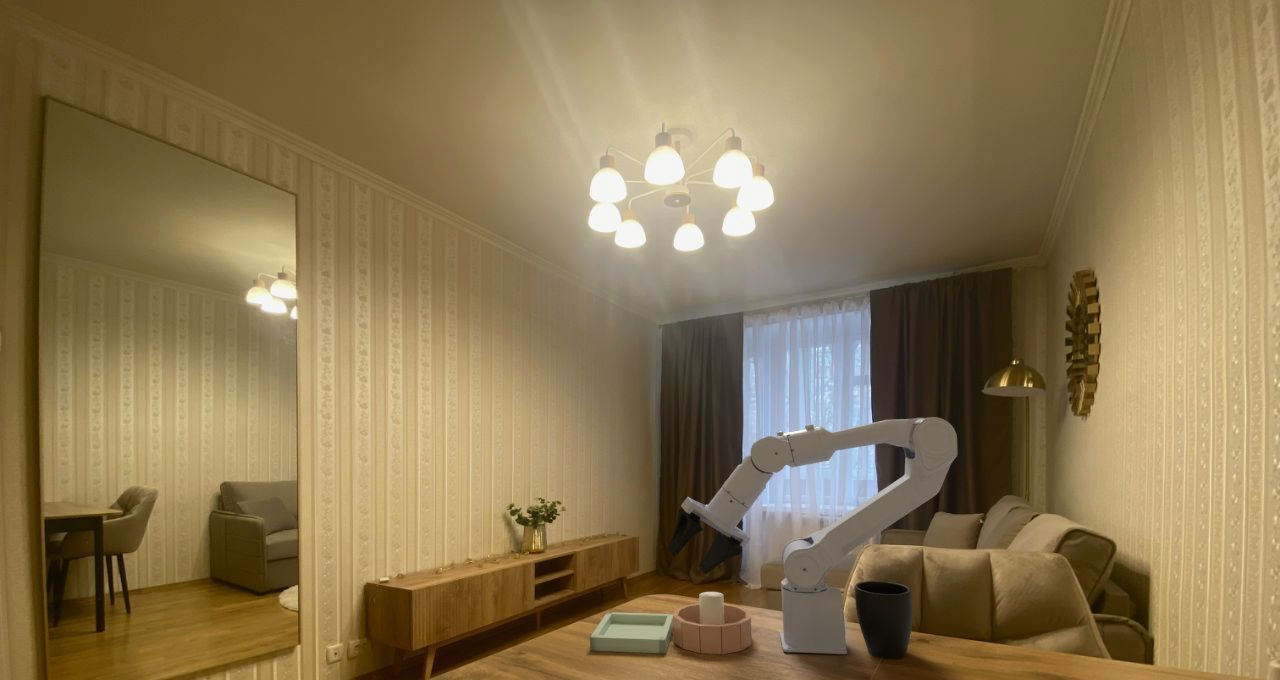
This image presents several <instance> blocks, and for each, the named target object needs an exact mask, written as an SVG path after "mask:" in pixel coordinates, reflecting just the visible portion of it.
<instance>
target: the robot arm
mask: <svg viewBox="0 0 1280 680" xmlns="http://www.w3.org/2000/svg"><path fill="white" fill-rule="evenodd" d="M752 443H753V444H752V445H751V449H750V454H748V455H746V456H745V457H744V458H743V459H742V461H741V464H738V465H737V466H736V467H735V468H734V470H733V472H732V473H731V474H730V475H729V477H728V478H727V479H726V480H725V481H724V483H723V484H722V486H721V488H720V489H719V490H718V491H717V492H716V494H715V495H714V496H713V498H712V499H711V500H710V501H709V503H708V504H703V503H701V502H699V501H697V500H694V499H693V498H691V497H689V496H687V497H686V499H684V501H683V502H682V503H681V506H680V508H679V509H678V517H677V521H676V525H675V529H674V532H673V535H672V537H671V539H670V542H669V543H668V546H667V550H668V552H669V554H671V556H672V557H674V558H675V557H676V556H677V555H679V554H680V552H681V551H682V550H683V549H684V547H686V545H687V543H688V542H690V540H691V539H693V538H694V537H695V536H697V534H699V533H701V532H702V531H703V527H702V526H701V525H700V523H701V522H703V523H705V524H707V525H708V526H710V527H711V528H713V529H715V530H716V531H717V532H716V536H715V538H714V540H713V541H712V544H711V546H710V548H708V550H707V552H706V553H705V555H704V556H703V558H702V559H701V560H700V562H699V565H698V567H699V569H700V570H701V572H702V573H703V574H705V575H707V574H708V573H710V572H711V571H712V570H714V569H715V568H716V567H718V566H719V565H721V564H723V562H725V561H728V560H729V559H732V558H733V557H736V556H740V555H741V553H742V552H743V548H745V547H746V545H748V543H749V542H750V541H751V537H750V536H749V535H748V534H747V532H745V531H744V530H742V529H740V528H739V527H738V524H739V523H740V522H741V520H742V519H743V518H744V516H745V515H746V514H747V513H748V512H749V510H750V509H751V507H752V506H753V505H754V503H755V502H756V501H757V499H758V498H759V496H760V495H761V494H762V493H763V491H764V490H765V489H766V487H767V484H768V483H769V482H770V480H771V478H772V477H773V476H774V474H775V473H779V472H781V471H782V470H783V469H784V468H785V467H786V466H788V467H790V468H796V467H802V466H806V465H812V464H813V465H814V464H818V463H823V462H824V463H825V462H828V461H830V460H831V458H832V457H833V455H834V453H836V452H837V451H843V450H849V449H854V448H861V447H868V446H873V445H879V444H889V445H891V446H895V447H900V448H902V449H903V451H904V456H905V460H904V461H905V462H904V475H902V476H901V477H900V478H898V479H897V480H896V481H893V482H892V483H891V484H888V485H887V486H886V487H885V488H883V489H882V490H880V491H878V492H877V493H876V494H874V495H872V496H871V497H870V498H868V499H867V500H865V501H864V502H862V503H861V504H859V505H858V506H857V507H855V508H853V509H852V510H850V511H849V512H847V513H845V514H844V515H843V516H841V517H840V518H839V519H837V520H835V521H834V522H833V523H831V524H829V525H828V526H825V528H822V529H820V530H817V531H814V532H812V533H811V534H809V535H807V536H805V537H801V538H800V537H799V538H794V539H791V540H790V541H788V542H787V543H786V544H785V545H784V548H783V549H782V552H781V560H782V563H783V572H784V576H785V577H784V578H783V579H782V580H781V582H780V586H781V587H780V589H781V590H780V591H781V605H782V607H781V608H782V609H781V610H782V611H781V612H782V627H783V630H782V631H781V632H779V638H780V642H781V646H782V647H781V648H782V651H783V652H785V653H800V654H801V653H804V654H826V655H827V654H829V655H831V654H832V655H847V654H848V651H847V645H846V644H847V642H846V641H847V640H846V626H845V612H844V609H845V608H844V601H843V595H842V592H841V589H840V588H839V587H834V586H828V583H827V581H826V580H825V578H826V576H827V575H828V573H830V572H831V571H832V570H833V569H835V568H837V566H839V563H840V562H841V561H842V559H843V558H844V557H845V556H847V554H849V553H851V552H852V551H854V550H855V549H857V548H859V547H860V546H861V545H862V544H864V543H866V542H867V541H868V540H870V539H872V538H873V537H875V536H876V535H878V534H880V533H881V532H882V531H884V530H885V529H888V528H889V527H890V526H891V525H894V523H896V522H897V521H900V519H902V518H903V517H905V516H906V515H908V514H910V513H911V512H913V511H914V510H916V509H917V508H918V507H920V506H922V505H923V504H925V503H926V502H928V501H929V500H930V499H932V498H934V497H935V496H937V494H939V492H941V488H942V486H943V484H944V481H945V479H946V476H947V474H948V472H949V470H950V467H951V465H952V464H953V462H954V460H955V459H956V458H957V457H958V436H957V432H956V430H955V428H954V427H953V425H952V424H951V423H950V422H948V421H947V420H946V419H943V418H941V417H934V416H933V417H932V416H931V417H926V418H925V417H915V418H907V419H903V418H901V419H884V420H880V421H875V422H871V423H866V424H863V425H858V426H854V427H849V428H844V429H840V430H836V431H832V432H831V431H829V430H827V429H826V428H824V427H823V426H814V424H812V423H811V424H807V425H805V426H804V429H800V430H795V431H791V432H785V433H784V431H781V430H780V431H777V432H776V436H773V435H772V436H771V435H767V436H764V437H760V438H759V439H757V440H756V441H755V442H752ZM741 547H743V548H741Z"/></svg>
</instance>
